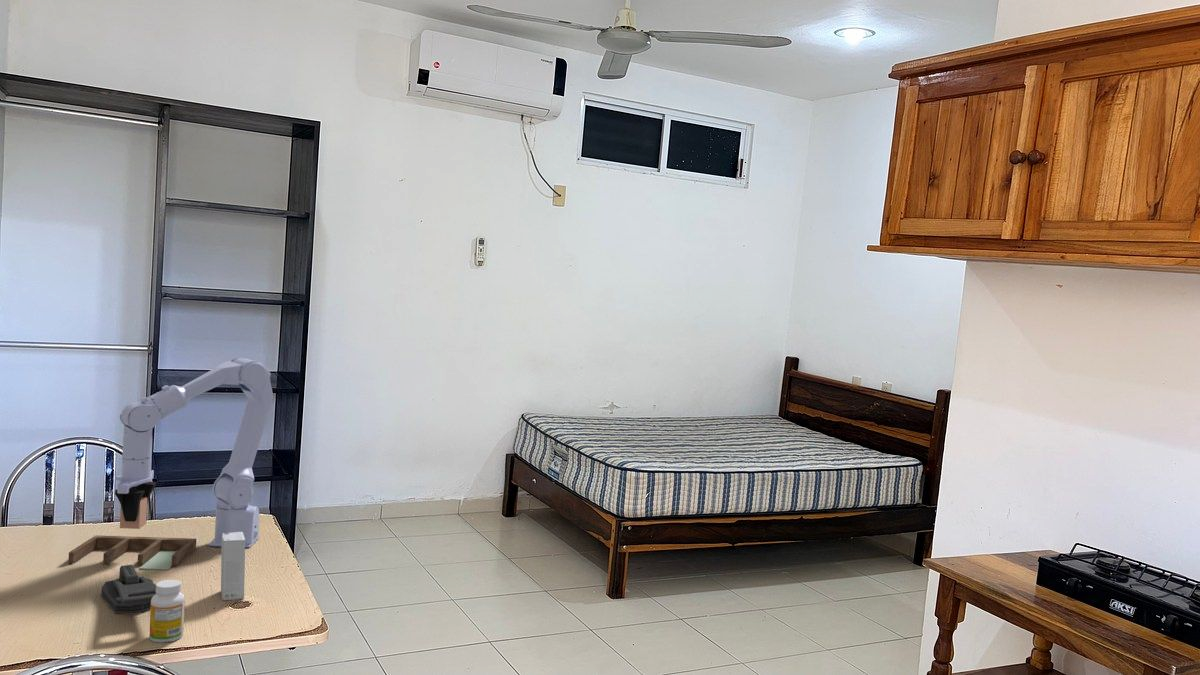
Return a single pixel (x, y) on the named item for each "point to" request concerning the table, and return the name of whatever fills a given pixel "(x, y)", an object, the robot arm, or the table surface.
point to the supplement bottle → (167, 612)
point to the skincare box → (232, 566)
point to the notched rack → (149, 545)
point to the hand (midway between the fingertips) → (134, 518)
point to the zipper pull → (128, 592)
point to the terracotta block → (140, 518)
